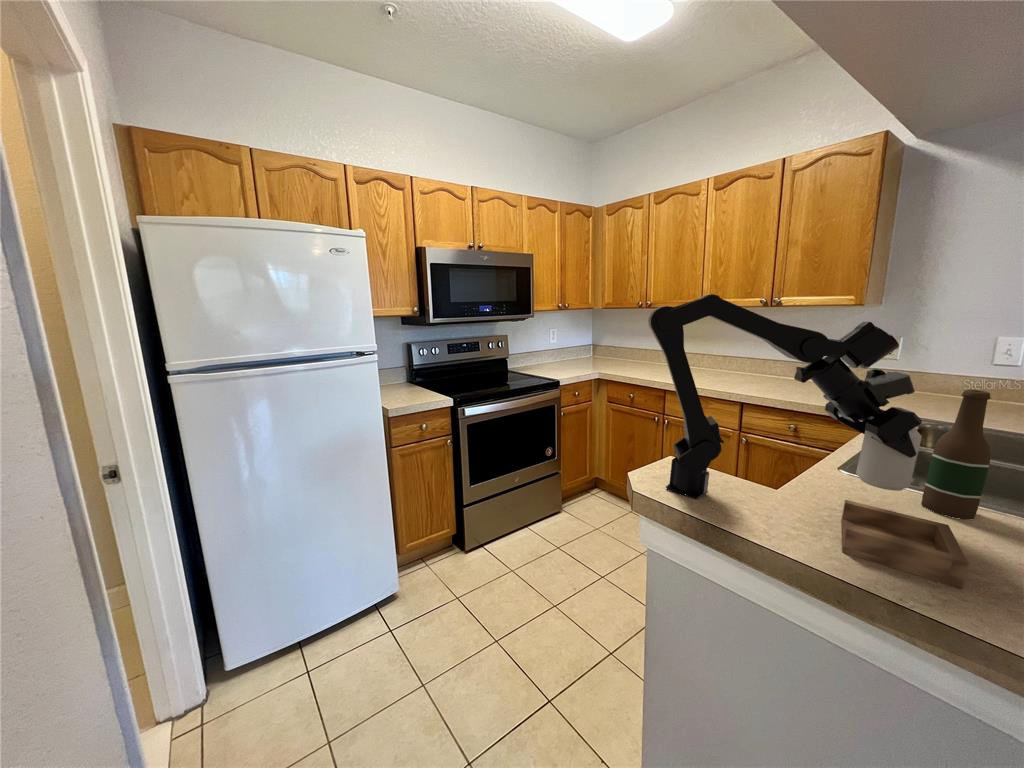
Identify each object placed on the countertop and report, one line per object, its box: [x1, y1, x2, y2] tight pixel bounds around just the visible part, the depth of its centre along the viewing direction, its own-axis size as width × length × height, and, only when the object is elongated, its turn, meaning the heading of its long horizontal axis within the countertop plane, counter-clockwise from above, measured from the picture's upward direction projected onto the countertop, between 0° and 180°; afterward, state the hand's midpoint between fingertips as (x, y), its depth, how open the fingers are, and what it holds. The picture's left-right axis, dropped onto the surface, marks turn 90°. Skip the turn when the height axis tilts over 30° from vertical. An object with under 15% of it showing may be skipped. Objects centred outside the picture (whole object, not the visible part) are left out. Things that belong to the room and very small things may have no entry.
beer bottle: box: [921, 389, 992, 520], centre depth 76 cm, size 8×8×24 cm
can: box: [855, 426, 923, 492], centre depth 74 cm, size 8×8×12 cm
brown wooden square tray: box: [840, 499, 970, 589], centre depth 64 cm, size 13×13×4 cm
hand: (898, 448), depth 73 cm, fingers closed on can, 7 cm apart
